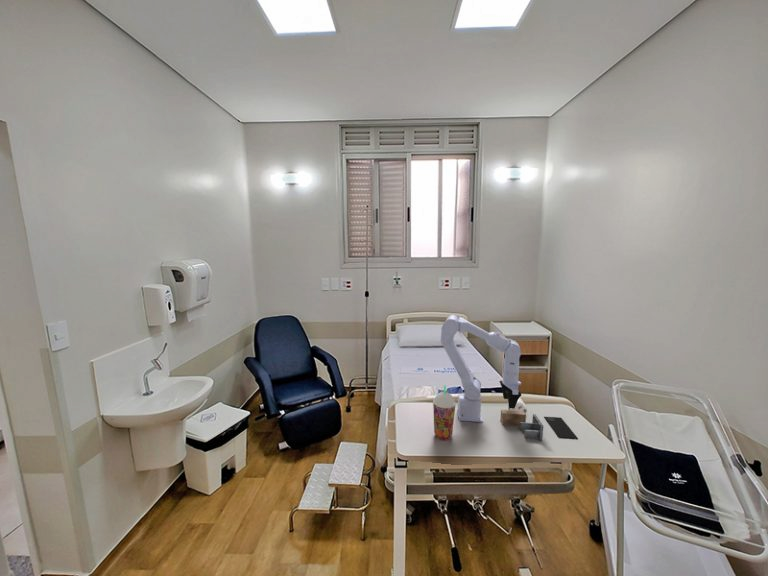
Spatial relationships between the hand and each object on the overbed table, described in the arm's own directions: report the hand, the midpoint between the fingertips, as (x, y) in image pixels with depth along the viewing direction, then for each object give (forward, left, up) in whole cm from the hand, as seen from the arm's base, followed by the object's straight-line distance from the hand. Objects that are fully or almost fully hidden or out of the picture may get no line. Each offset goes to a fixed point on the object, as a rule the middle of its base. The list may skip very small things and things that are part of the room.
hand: (508, 403), depth 128 cm
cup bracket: (+6, -7, -8) cm, 12 cm away
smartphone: (+20, -1, -9) cm, 22 cm away
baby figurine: (+7, +13, -9) cm, 17 cm away
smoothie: (-27, -12, -9) cm, 31 cm away
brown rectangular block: (+2, 0, -9) cm, 9 cm away
